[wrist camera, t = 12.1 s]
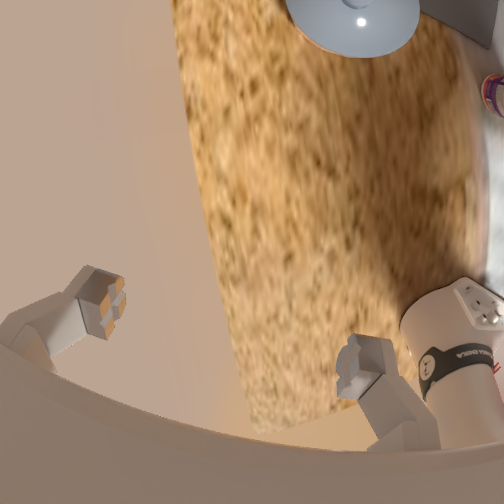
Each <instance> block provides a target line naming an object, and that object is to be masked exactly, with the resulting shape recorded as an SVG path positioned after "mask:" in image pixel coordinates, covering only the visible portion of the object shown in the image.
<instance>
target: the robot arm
mask: <svg viewBox="0 0 504 504" xmlns="http://www.w3.org/2000/svg"><path fill="white" fill-rule="evenodd" d="M124 285H125V284H124V278H123V277H122V276H119V275H116V274H113V273H110V272H107V271H104V270H101V269H98V268H95V267H92V266H89V265H86V266H84V267H83V268H82V269H81V270H80V272H79V273H78V274H77V275H76V276H75V278H74V279H73V280H72V281H71V282H70V284H69V285H68V286H67V288H66V289H65V290H64V291H63V293H61V292H58V293H55V294H53V295H51V296H48V297H46V298H44V299H41V300H39V301H37V302H35V303H33V304H30V305H28V306H26V307H24V308H21V309H19V310H17V311H15V312H12V313H10V314H9V315H8V316H7V317H6V319H5V320H4V322H2V324H1V325H0V504H504V403H503V400H502V397H501V394H500V391H499V388H498V385H497V383H496V380H495V377H494V374H495V373H496V372H497V371H498V370H499V369H500V368H501V367H499V368H498V369H497V370H495V369H496V368H497V366H498V364H499V363H497V364H496V365H495V366H494V361H493V354H494V353H495V351H496V349H497V348H498V346H499V345H500V343H501V341H502V339H503V337H504V325H503V323H502V319H503V317H504V300H502V299H501V298H499V297H498V296H496V295H495V294H493V293H492V292H490V291H488V290H487V289H485V288H484V287H482V286H481V285H479V284H477V283H476V282H474V281H473V280H471V279H469V278H468V277H462V278H460V279H458V280H457V281H455V282H454V283H452V284H451V285H449V286H447V287H445V288H441V289H438V290H435V291H433V292H431V293H428V294H427V295H425V296H423V297H422V298H420V299H419V300H417V301H416V302H415V303H414V304H413V305H412V306H411V307H410V308H409V309H408V310H407V312H406V313H405V315H404V316H403V318H402V321H401V324H400V333H401V336H402V337H403V339H404V341H405V342H406V344H407V346H408V351H409V354H410V355H411V356H412V357H413V360H414V363H415V365H416V368H417V371H418V373H419V383H420V387H421V394H422V396H423V400H424V401H425V402H426V403H427V407H428V408H427V407H426V406H425V404H424V403H423V402H422V400H421V399H420V398H419V397H418V395H417V394H416V393H415V392H414V390H413V389H412V388H411V387H410V385H409V384H408V383H407V382H406V380H405V379H404V378H403V377H402V376H399V373H398V368H397V362H396V357H395V352H394V348H393V343H392V341H391V340H390V339H384V338H377V337H373V336H367V335H361V334H356V333H353V334H351V335H350V337H349V338H348V345H346V346H344V347H342V349H341V351H340V352H339V355H338V358H337V362H336V372H337V373H338V375H339V376H340V378H339V379H338V381H337V397H338V398H345V399H351V400H358V403H359V405H360V407H361V408H362V410H363V412H364V414H365V416H366V417H367V419H368V421H369V423H370V425H371V427H372V428H373V430H374V432H375V434H376V436H377V437H378V439H379V440H378V441H377V442H375V443H374V444H372V445H371V446H370V447H368V448H367V451H344V450H330V449H318V448H309V447H299V446H292V445H284V444H277V443H271V442H265V441H259V440H254V439H248V438H243V437H238V436H234V435H229V434H224V433H220V432H216V431H211V430H207V429H203V428H199V427H195V426H192V425H188V424H185V423H181V422H178V421H174V420H171V419H167V418H164V417H161V416H158V415H155V414H152V413H149V412H146V411H143V410H140V409H137V408H134V407H131V406H129V405H126V404H123V403H121V402H118V401H115V400H113V399H110V398H108V397H105V396H103V395H100V394H98V393H96V392H93V391H91V390H88V389H86V388H84V387H81V386H79V385H77V384H75V383H73V382H70V381H69V380H66V379H64V378H62V377H60V376H58V375H56V373H57V371H56V368H55V366H54V364H53V362H52V360H51V358H52V357H54V356H55V355H57V354H59V353H60V352H61V351H63V350H65V349H66V348H68V347H69V346H71V345H72V344H74V343H75V342H77V341H78V340H80V339H81V338H83V337H85V336H86V335H87V334H90V335H93V336H96V337H98V338H101V339H104V340H108V338H109V336H110V334H111V333H112V331H113V330H114V328H115V326H114V321H115V320H117V319H119V318H120V317H121V315H122V313H123V311H124V308H125V305H126V294H125V292H124V291H123V290H122V288H123V287H124Z"/></svg>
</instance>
